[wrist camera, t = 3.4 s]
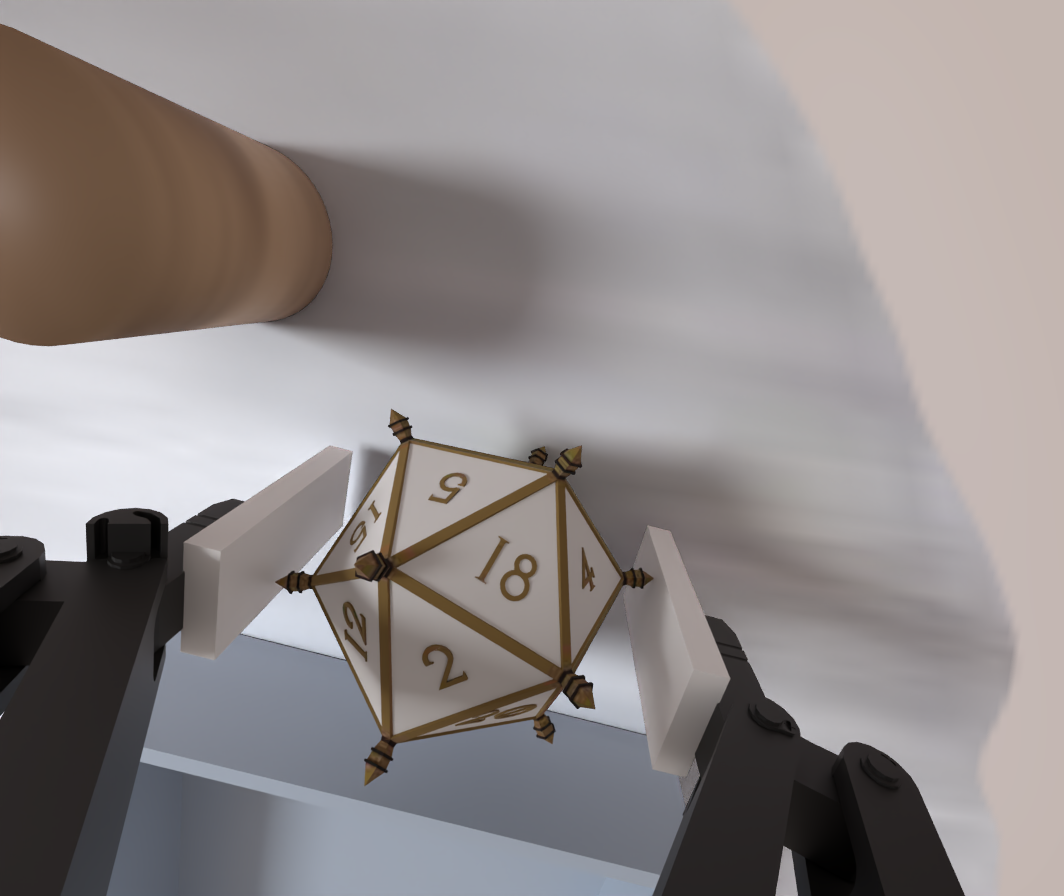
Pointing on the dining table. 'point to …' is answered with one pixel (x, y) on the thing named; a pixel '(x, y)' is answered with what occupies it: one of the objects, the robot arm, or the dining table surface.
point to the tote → (376, 795)
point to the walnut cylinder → (140, 210)
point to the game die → (466, 592)
